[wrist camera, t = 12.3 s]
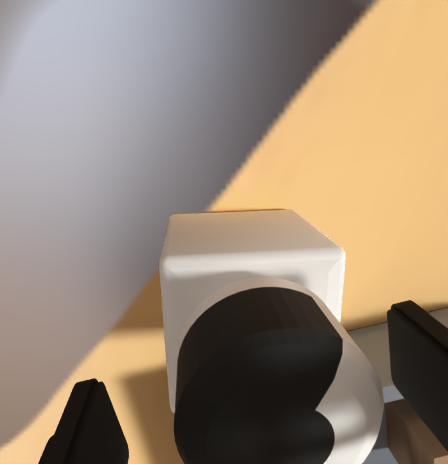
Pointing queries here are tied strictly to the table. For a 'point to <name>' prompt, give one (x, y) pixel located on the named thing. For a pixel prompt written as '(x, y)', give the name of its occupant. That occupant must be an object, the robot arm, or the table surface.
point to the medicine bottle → (262, 343)
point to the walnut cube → (411, 436)
